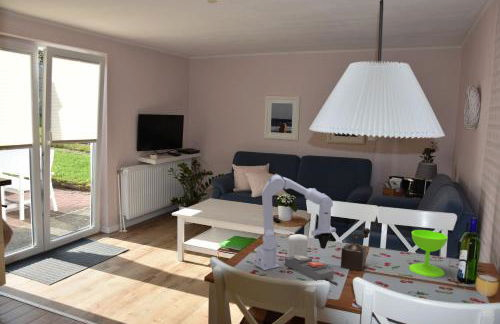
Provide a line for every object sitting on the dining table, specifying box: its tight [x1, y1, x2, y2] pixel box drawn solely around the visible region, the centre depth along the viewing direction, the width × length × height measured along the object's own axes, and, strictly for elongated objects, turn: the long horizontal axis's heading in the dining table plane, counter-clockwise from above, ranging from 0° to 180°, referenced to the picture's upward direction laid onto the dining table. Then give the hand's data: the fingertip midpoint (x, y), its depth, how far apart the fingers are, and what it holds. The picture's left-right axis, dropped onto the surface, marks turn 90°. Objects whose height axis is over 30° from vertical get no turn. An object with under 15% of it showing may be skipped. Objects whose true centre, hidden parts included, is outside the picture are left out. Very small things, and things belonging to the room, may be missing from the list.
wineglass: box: [408, 229, 448, 278], centre depth 195 cm, size 16×16×18 cm
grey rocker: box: [294, 255, 310, 261], centre depth 192 cm, size 6×4×1 cm, turn 125°
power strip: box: [284, 255, 339, 286], centre depth 186 cm, size 8×30×4 cm, turn 35°
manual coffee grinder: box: [340, 227, 371, 272], centre depth 199 cm, size 16×11×18 cm
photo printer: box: [286, 233, 309, 258], centre depth 207 cm, size 10×4×12 cm, turn 98°
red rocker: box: [308, 261, 325, 267], centre depth 184 cm, size 6×4×1 cm, turn 125°
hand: (322, 248), depth 194 cm, fingers closed
